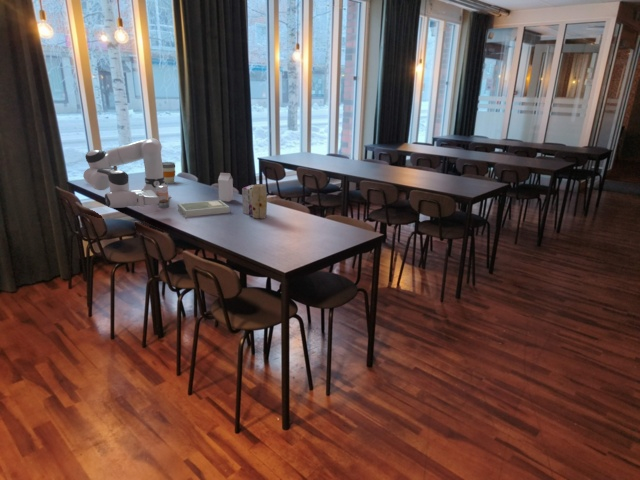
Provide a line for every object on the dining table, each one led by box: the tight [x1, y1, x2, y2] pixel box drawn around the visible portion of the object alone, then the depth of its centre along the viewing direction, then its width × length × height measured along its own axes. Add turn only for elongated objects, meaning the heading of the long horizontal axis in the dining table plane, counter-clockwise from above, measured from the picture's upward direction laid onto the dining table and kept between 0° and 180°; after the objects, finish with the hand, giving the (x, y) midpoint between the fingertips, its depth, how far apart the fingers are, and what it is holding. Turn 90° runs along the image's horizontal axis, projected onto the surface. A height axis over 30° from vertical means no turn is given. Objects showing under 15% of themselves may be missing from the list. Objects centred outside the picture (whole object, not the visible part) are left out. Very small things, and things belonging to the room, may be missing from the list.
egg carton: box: [208, 200, 223, 208], centre depth 257 cm, size 10×6×4 cm, turn 30°
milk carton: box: [217, 172, 234, 203], centre depth 280 cm, size 7×7×19 cm
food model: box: [252, 183, 268, 220], centre depth 245 cm, size 10×7×20 cm
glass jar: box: [156, 185, 170, 209], centre depth 239 cm, size 6×6×12 cm
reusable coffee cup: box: [162, 161, 176, 184], centre depth 331 cm, size 13×13×15 cm
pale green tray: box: [177, 199, 231, 220], centre depth 254 cm, size 18×26×4 cm
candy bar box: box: [241, 184, 255, 215], centre depth 254 cm, size 11×5×16 cm, turn 160°
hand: (164, 195), depth 240 cm, fingers closed on glass jar, 6 cm apart
